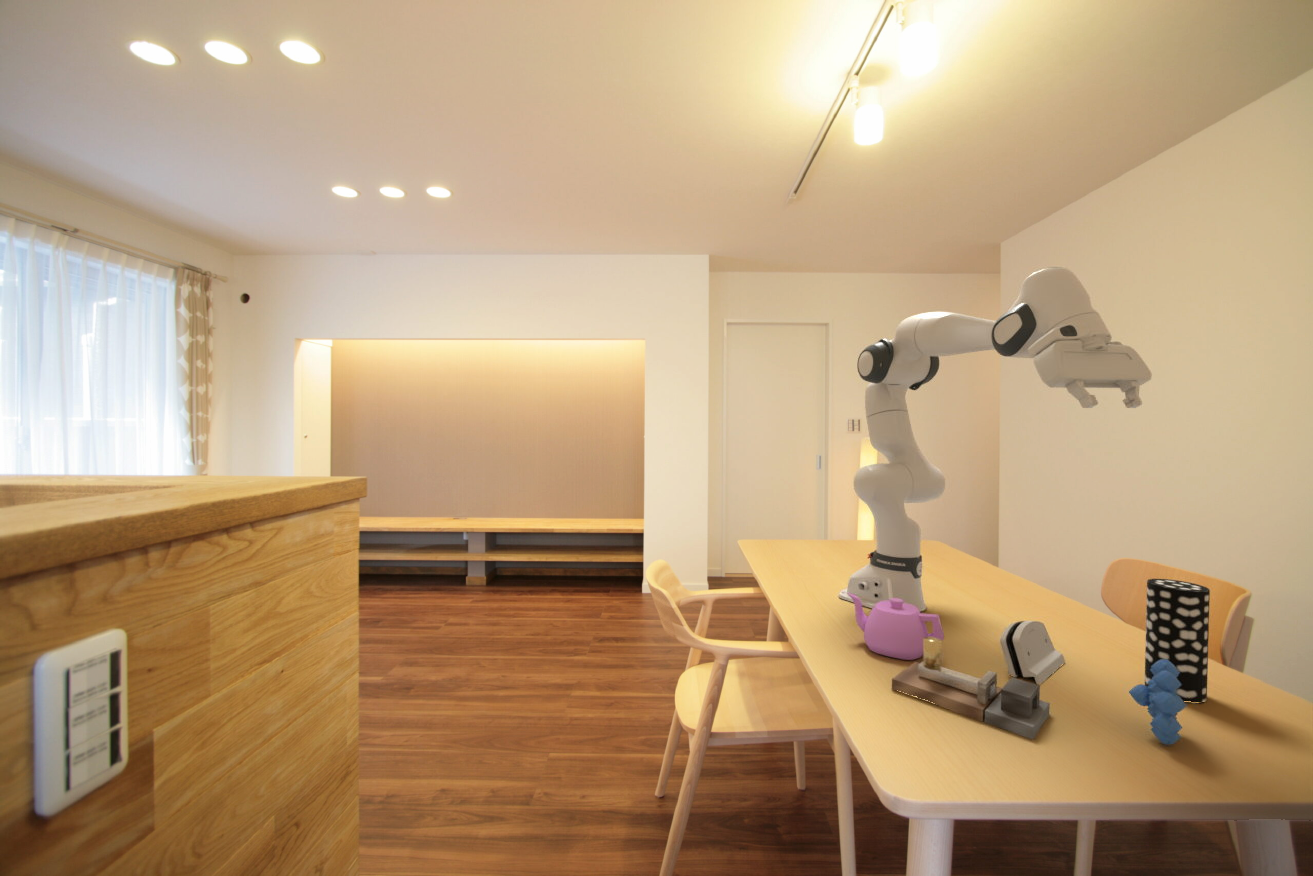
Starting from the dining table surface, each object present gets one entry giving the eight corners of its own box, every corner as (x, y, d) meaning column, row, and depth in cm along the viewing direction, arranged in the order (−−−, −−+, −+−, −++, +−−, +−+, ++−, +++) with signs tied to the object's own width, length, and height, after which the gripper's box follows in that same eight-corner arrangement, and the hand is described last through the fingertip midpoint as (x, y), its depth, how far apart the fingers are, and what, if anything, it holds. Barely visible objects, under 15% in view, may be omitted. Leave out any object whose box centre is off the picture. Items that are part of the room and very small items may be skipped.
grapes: (1127, 713, 93) (1128, 643, 92) (1182, 728, 88) (1183, 654, 88) (1128, 743, 84) (1130, 666, 83) (1189, 761, 79) (1191, 680, 79)
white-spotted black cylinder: (1134, 686, 102) (1137, 581, 102) (1159, 678, 106) (1161, 576, 105) (1192, 707, 95) (1195, 593, 94) (1216, 698, 98) (1219, 588, 98)
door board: (891, 689, 100) (892, 660, 100) (915, 671, 108) (916, 644, 108) (1033, 739, 84) (1033, 705, 84) (1049, 714, 92) (1050, 683, 92)
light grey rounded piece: (1039, 685, 102) (1019, 631, 105) (1012, 685, 106) (994, 632, 108) (1066, 662, 113) (1047, 613, 115) (1041, 662, 116) (1023, 615, 119)
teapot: (854, 629, 131) (854, 584, 130) (947, 649, 119) (948, 599, 119) (837, 648, 120) (838, 598, 119) (938, 672, 108) (940, 616, 108)
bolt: (917, 676, 101) (917, 638, 101) (923, 671, 103) (924, 634, 103) (990, 700, 92) (991, 659, 92) (995, 694, 94) (996, 654, 94)
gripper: (1109, 352, 105) (1143, 415, 99) (1019, 349, 100) (1049, 415, 94) (1140, 331, 99) (1179, 397, 93) (1046, 328, 95) (1081, 397, 89)
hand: (1113, 406), depth 94 cm, fingers open, 8 cm apart
